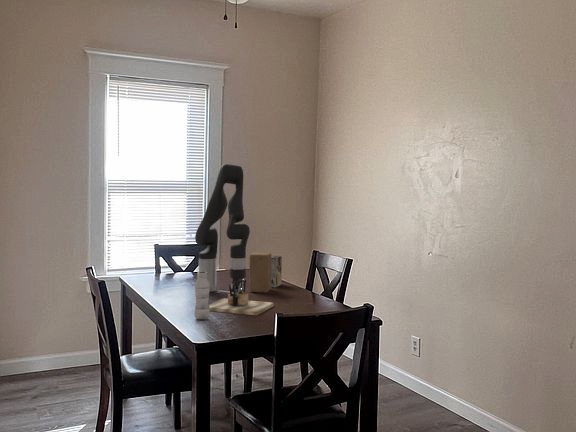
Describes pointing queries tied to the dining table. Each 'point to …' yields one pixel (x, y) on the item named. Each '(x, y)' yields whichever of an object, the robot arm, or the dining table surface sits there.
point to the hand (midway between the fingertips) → (237, 303)
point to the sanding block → (239, 299)
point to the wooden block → (260, 272)
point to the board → (240, 307)
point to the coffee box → (276, 270)
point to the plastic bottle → (202, 297)
